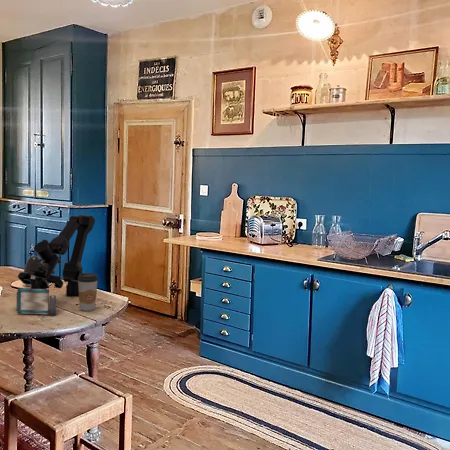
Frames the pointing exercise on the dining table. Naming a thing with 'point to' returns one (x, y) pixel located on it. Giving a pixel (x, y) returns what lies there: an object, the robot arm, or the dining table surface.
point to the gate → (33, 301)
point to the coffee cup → (87, 291)
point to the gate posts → (52, 305)
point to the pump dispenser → (31, 260)
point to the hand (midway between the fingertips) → (31, 297)
